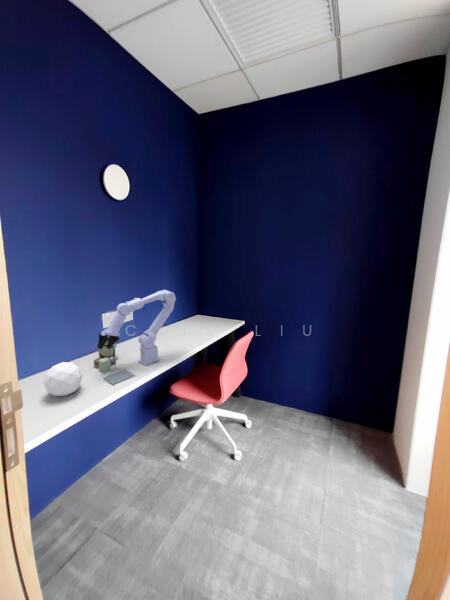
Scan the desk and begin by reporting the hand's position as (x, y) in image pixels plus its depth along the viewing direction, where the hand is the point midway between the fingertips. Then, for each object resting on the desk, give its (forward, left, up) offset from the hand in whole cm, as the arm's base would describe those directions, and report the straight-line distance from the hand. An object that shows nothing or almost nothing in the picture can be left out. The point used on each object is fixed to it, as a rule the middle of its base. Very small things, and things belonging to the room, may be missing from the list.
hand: (103, 348), depth 132 cm
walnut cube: (-1, -9, -14) cm, 16 cm away
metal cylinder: (-7, -7, -14) cm, 17 cm away
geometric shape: (+21, +5, -14) cm, 26 cm away
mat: (-2, +10, -13) cm, 17 cm away
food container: (-10, -16, -14) cm, 23 cm away
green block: (-1, -3, -14) cm, 14 cm away
